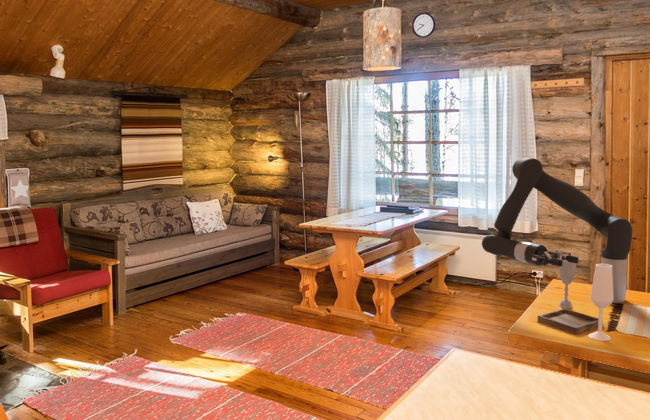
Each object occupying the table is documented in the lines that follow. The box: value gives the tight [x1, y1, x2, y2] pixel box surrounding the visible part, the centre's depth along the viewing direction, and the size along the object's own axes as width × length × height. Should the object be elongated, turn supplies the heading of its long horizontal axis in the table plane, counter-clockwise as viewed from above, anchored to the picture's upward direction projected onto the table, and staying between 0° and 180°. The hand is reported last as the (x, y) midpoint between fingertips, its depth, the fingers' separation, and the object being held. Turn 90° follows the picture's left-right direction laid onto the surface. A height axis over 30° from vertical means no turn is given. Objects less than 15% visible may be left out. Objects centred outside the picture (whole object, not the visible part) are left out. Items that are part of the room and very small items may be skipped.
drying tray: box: [537, 308, 604, 335], centre depth 200 cm, size 15×15×2 cm
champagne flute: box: [588, 263, 613, 342], centre depth 186 cm, size 7×7×24 cm
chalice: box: [558, 261, 578, 309], centre depth 218 cm, size 7×7×18 cm
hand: (570, 262), depth 194 cm, fingers open, 8 cm apart
